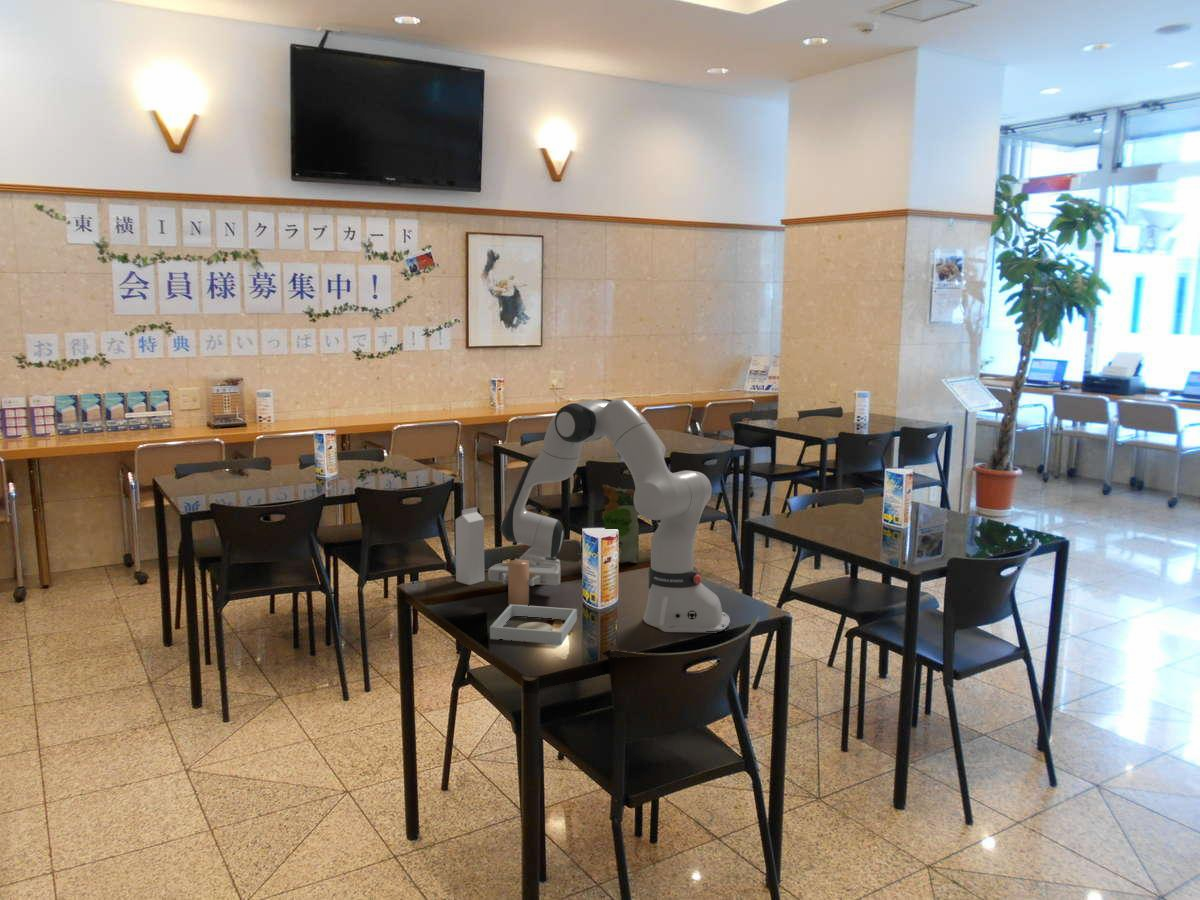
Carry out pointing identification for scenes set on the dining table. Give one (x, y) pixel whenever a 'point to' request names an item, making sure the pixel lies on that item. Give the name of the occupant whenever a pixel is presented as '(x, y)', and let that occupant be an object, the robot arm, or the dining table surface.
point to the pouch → (622, 521)
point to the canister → (518, 582)
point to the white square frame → (532, 634)
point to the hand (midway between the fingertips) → (517, 582)
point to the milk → (469, 547)
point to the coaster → (536, 626)
